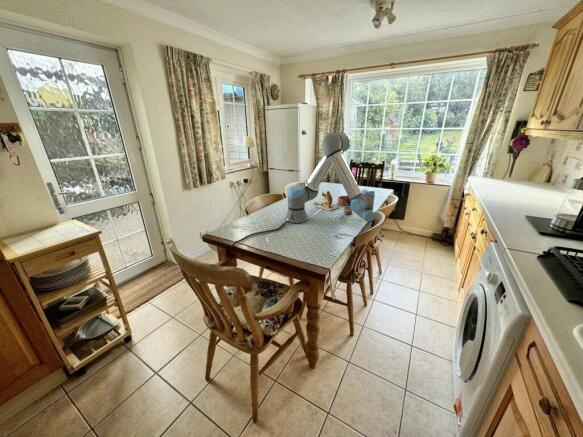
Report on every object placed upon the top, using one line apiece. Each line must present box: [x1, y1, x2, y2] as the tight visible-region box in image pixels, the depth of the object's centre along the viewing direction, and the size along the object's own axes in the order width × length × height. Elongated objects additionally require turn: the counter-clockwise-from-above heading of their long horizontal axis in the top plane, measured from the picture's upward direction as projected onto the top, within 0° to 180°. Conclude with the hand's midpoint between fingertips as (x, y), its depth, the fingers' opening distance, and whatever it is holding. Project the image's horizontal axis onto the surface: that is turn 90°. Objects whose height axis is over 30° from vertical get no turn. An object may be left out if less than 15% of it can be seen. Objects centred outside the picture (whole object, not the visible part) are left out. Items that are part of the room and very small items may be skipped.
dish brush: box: [343, 195, 353, 216], centre depth 173 cm, size 6×4×16 cm
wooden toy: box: [313, 190, 339, 212], centre depth 190 cm, size 22×10×14 cm, turn 37°
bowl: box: [337, 195, 347, 207], centre depth 196 cm, size 13×13×6 cm
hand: (345, 199), depth 178 cm, fingers open, 3 cm apart
